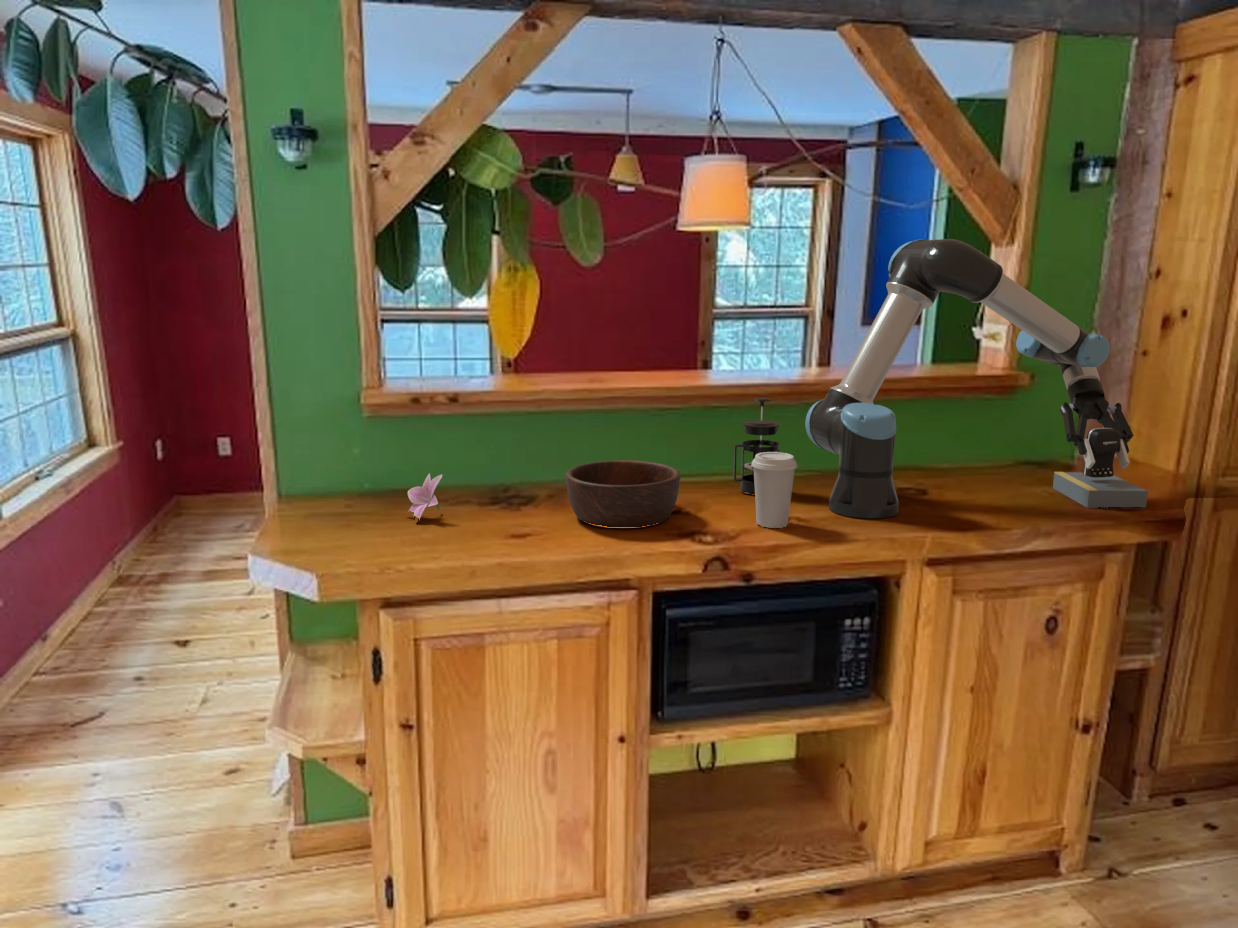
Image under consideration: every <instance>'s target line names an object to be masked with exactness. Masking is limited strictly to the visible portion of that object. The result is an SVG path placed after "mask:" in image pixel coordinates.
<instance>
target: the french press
mask: <svg viewBox="0 0 1238 928" xmlns="http://www.w3.org/2000/svg"><path fill="white" fill-rule="evenodd" d="M753 401H755V402H759V407H761V409H760V419H758V420H757V419H756V420H755V419H754V420H748V421H747V420H746V421H743V422H742V425H743V427H744V431H743V432H744V433H745V434H747V435H750V436H751V435H753V436H759V439H749V440H745V441H742V443H734V444H733V467H732V469H733V472H732V474H733V475H732V480H734V481H735V482H740V489H741V491H743V492H748V493H750V494H755V484H754V468H753V467H752V466H751V464H752V461H751V462H747V463H745V452H750V453H752V460H753V459H755V455H756V454H758V453H763V452H780V449H781V447H780V442H778V441H774V440H769V439H768V440H767V439H763V437H762V436H773V435H775V434H777V432H778V429H779V428H780V427H781V423H780V422H777V421H774V420H773V421H772V420H763V413H764V412H763V411H764V410H763V409H764V407H765V402H770V401H772V399H771V398H768V397H755V398H753ZM739 447H741V470H740V471H741V473H740V477H736V476H737V448H739ZM744 470H745V471H748V472H752V473H749V474H744V473H745V472H744ZM740 489H739V490H740Z"/></svg>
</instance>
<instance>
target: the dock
mask: <svg viewBox="0 0 1238 928" xmlns="http://www.w3.org/2000/svg"><path fill="white" fill-rule="evenodd" d="M1053 473H1054V474H1053V482H1052V483H1053V484H1052V489H1053V490H1055V491H1057V492H1059V493H1060V494H1063V495H1064V496H1066V497H1067V498H1070V499H1071V500H1073V501H1074V502H1076V503H1078V504H1080V505H1081V506H1083V507H1085V508H1087V509H1099V508H1098V507H1102V508H1101V509H1109V508H1108V507H1146V508H1147V500H1148V495H1149V491H1148V490H1146V489H1144V488H1142V487H1141V486H1138V485H1136V484H1134V483H1132V482H1129V481H1127V480H1125V479H1123V478H1121V477H1118V476H1117V475H1115V474H1114V475H1113V476H1111V477H1098V478H1095V477H1089V476H1085V475H1083V472H1077V471H1076V472H1075V471H1074V472H1073V471H1071V472H1067V471H1066V472H1065V471H1054V472H1053ZM1103 507H1104V508H1103ZM1105 507H1106V508H1105Z"/></svg>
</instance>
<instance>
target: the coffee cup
mask: <svg viewBox="0 0 1238 928" xmlns="http://www.w3.org/2000/svg"><path fill="white" fill-rule="evenodd" d="M751 462H752V464H751V466H752V467H753V468H754V484H755V496H754V497H755V500H754V501H755V516H756V524H757V523H758V524H759V525H762V526H764V527H770V528H780V529H782V528H781V527H785V528H787V527H786V526H788V524H789V516H790V508H791V500H792V493H793V486H794V485H793V484H794V476H795V471H796V470H795V469H797V468H798V464H797V461H796V460H795V456H794V455H792V454H790V453H786V452H780V451H779V452H777V451H775V452H763V453H758V454H756V455H755V459H753V458H752V461H751Z"/></svg>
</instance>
